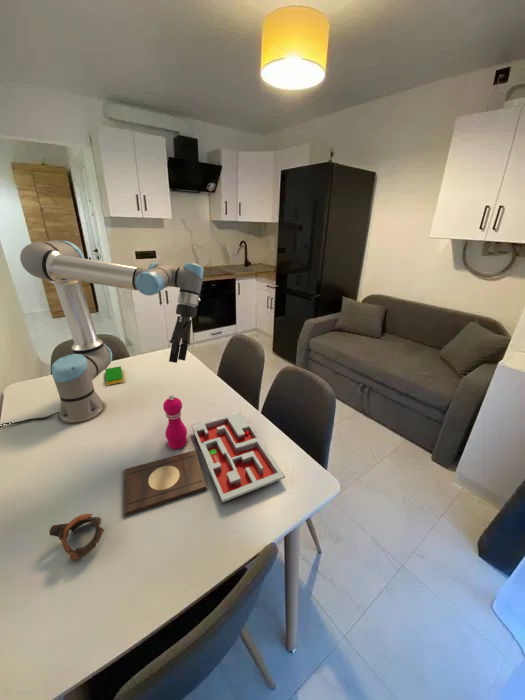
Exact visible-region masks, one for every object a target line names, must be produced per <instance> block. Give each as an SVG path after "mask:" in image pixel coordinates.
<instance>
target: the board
mask: <svg viewBox="0 0 525 700" xmlns="http://www.w3.org/2000/svg"><path fill="white" fill-rule="evenodd" d="M206 490H207V484H206V481H205V477H204V474H203V470H202V467H201V463H200V460H199V456H198V454H197V451H196V449H194V450H189V451H187V452H183V453H178V454H176V455H172V456H168V457H163V458H161V459H157V460H154V461H150V462H149V461H148V462H146V463H141V464H139V465H134V466H132V467H127V468H124V494H123V495H124V496H123V497H124V498H123V499H124V500H123V504H124V505H123V507H124V508H123V512H124V516H125V517H126V516H129V515H132V514H135V513H138V512H142V511H144V510H147V509H150V508H153V507H156V506H160V505H164V504H166V503H169V502H172V501H175V500H178V499H182V498H184V497H187V496H190V495H194V494H196V493H200V492H203V491H206Z"/></svg>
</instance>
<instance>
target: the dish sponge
mask: <svg viewBox="0 0 525 700" xmlns="http://www.w3.org/2000/svg"><path fill="white" fill-rule="evenodd" d="M120 383H124V376H123V371H122V366H121V365H119V366H114V367H107V368H106V369H105V384H106V385H107V386H111V385H115V384H120Z"/></svg>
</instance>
